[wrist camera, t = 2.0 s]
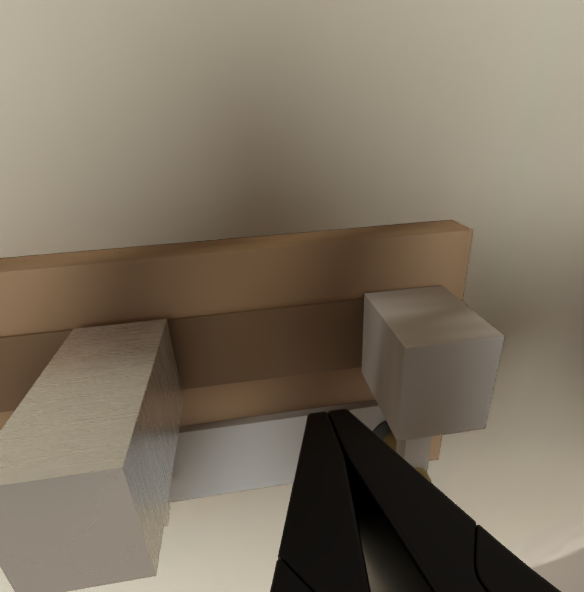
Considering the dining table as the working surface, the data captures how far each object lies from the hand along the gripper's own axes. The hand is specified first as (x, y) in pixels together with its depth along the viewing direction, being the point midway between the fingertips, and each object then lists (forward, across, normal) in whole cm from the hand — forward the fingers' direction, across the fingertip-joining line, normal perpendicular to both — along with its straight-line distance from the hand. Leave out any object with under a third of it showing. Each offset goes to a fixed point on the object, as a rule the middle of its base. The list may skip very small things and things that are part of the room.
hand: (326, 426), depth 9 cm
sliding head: (+4, +5, +2) cm, 6 cm away
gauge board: (+5, +5, +2) cm, 7 cm away
